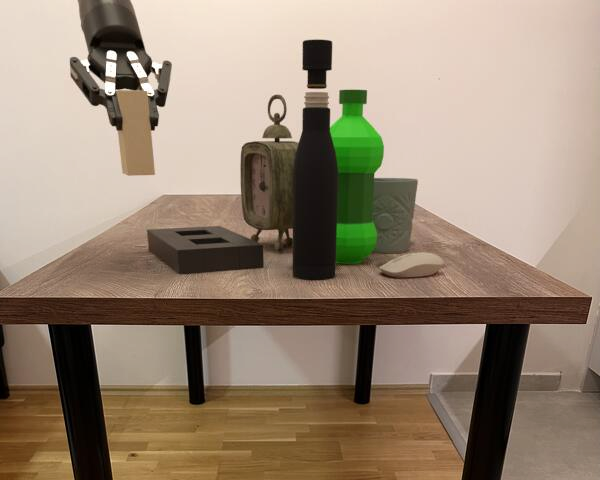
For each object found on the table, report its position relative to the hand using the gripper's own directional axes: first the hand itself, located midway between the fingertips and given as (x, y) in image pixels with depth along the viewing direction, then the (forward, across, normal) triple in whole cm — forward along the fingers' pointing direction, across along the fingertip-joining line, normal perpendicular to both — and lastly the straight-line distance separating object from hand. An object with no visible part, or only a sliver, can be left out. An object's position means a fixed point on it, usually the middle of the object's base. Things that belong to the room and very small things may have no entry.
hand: (136, 125), depth 83 cm
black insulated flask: (+18, +23, +10) cm, 31 cm away
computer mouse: (+21, +38, +8) cm, 44 cm away
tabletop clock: (0, +28, +29) cm, 40 cm away
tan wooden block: (+3, 0, +6) cm, 6 cm away
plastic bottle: (+12, +33, +17) cm, 39 cm away
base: (+4, +12, +25) cm, 28 cm away
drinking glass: (+7, +45, +22) cm, 51 cm away
